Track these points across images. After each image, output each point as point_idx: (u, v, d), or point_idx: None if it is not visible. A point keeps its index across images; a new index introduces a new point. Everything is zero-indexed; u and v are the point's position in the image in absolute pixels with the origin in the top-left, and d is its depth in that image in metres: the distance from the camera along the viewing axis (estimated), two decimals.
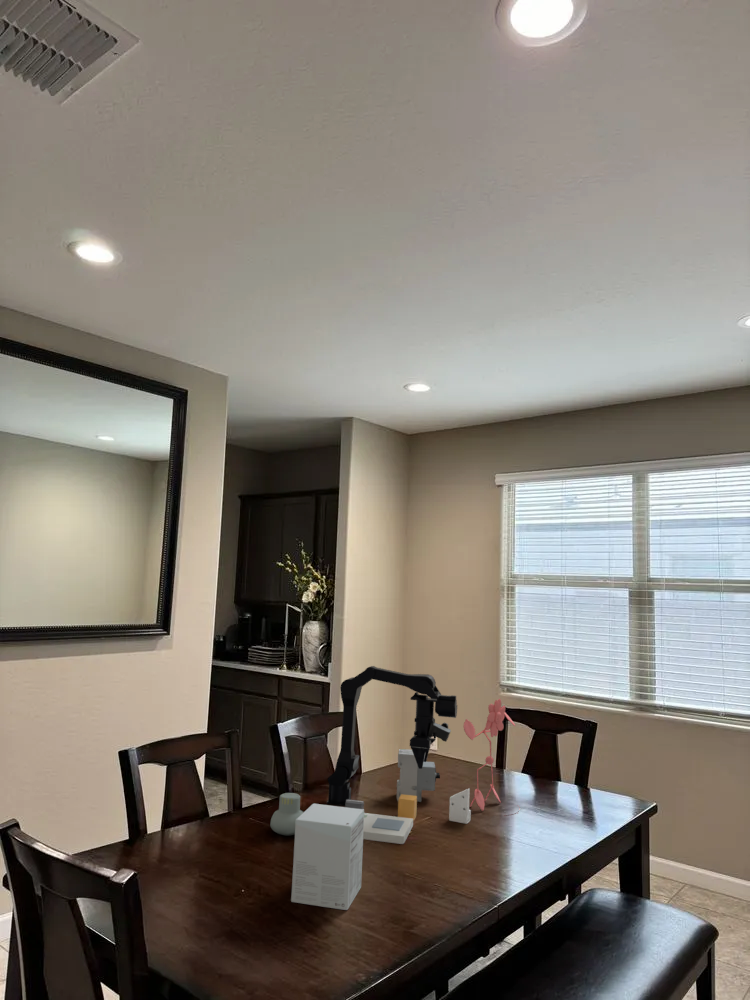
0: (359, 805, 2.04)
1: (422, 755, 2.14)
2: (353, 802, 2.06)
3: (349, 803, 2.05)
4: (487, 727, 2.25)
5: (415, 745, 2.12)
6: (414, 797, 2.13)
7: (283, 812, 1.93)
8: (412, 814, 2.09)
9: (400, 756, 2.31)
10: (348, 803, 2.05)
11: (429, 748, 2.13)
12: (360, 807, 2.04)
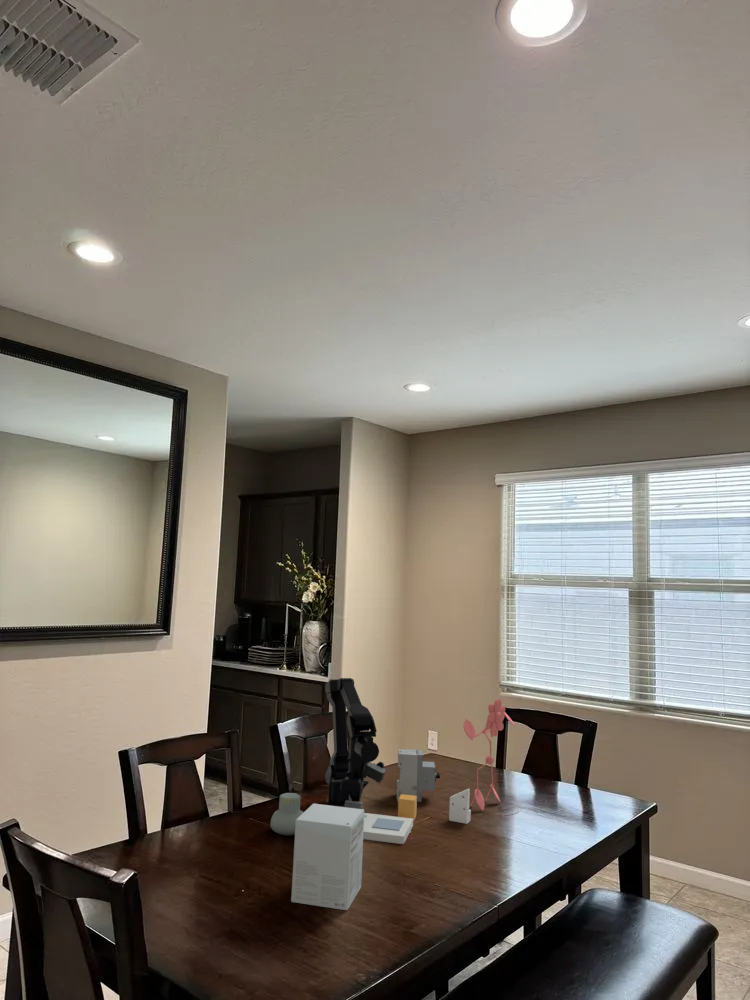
0: (358, 806, 2.04)
1: (357, 794, 2.07)
2: (352, 803, 2.05)
3: (348, 804, 2.04)
4: (487, 727, 2.25)
5: (346, 788, 2.00)
6: (414, 797, 2.13)
7: (283, 812, 1.93)
8: (412, 814, 2.09)
9: (400, 756, 2.31)
10: (347, 804, 2.04)
11: (364, 787, 2.05)
12: (359, 808, 2.03)
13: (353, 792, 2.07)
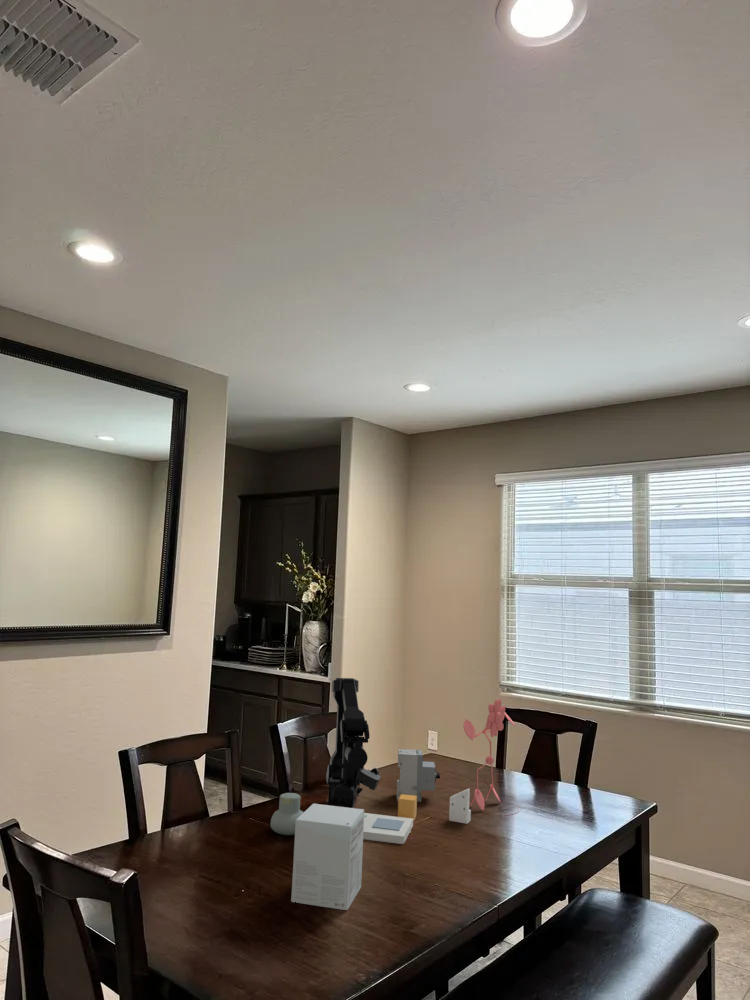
0: None
1: (351, 801, 1.99)
2: None
3: None
4: (487, 727, 2.25)
5: (338, 795, 1.93)
6: (414, 797, 2.13)
7: (283, 811, 1.93)
8: (412, 814, 2.09)
9: (400, 756, 2.31)
10: None
11: (358, 794, 1.98)
12: None
13: (346, 800, 2.00)
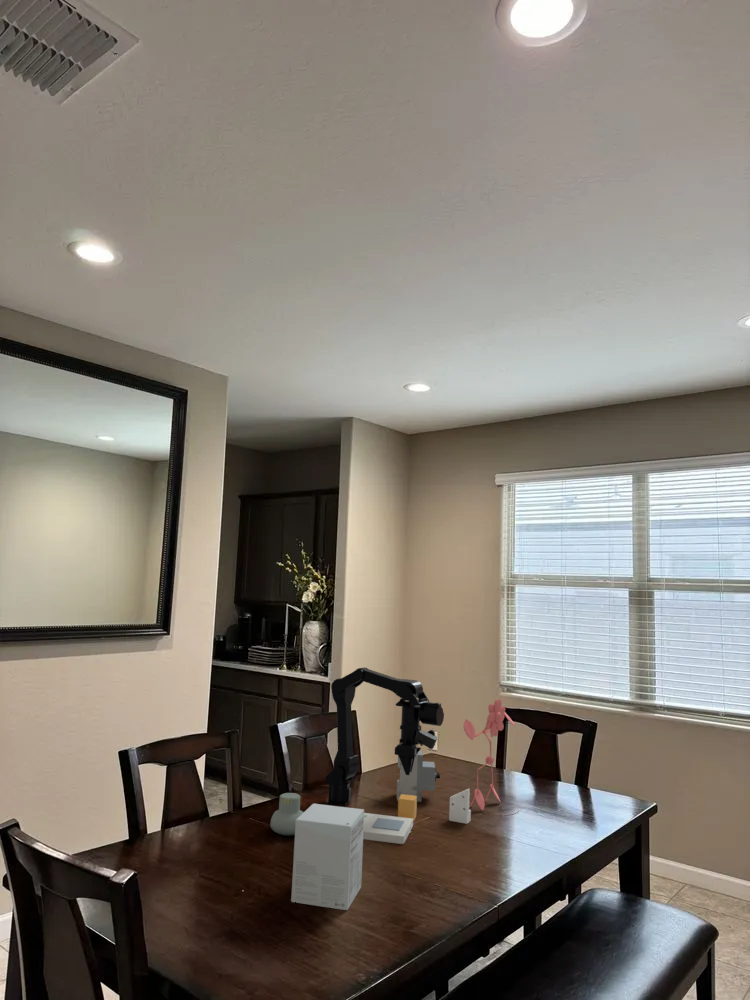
0: None
1: (409, 761, 2.11)
2: None
3: None
4: (487, 727, 2.25)
5: (400, 753, 2.06)
6: (414, 797, 2.13)
7: (283, 811, 1.93)
8: (412, 814, 2.09)
9: None
10: None
11: (416, 754, 2.09)
12: None
13: (405, 760, 2.12)
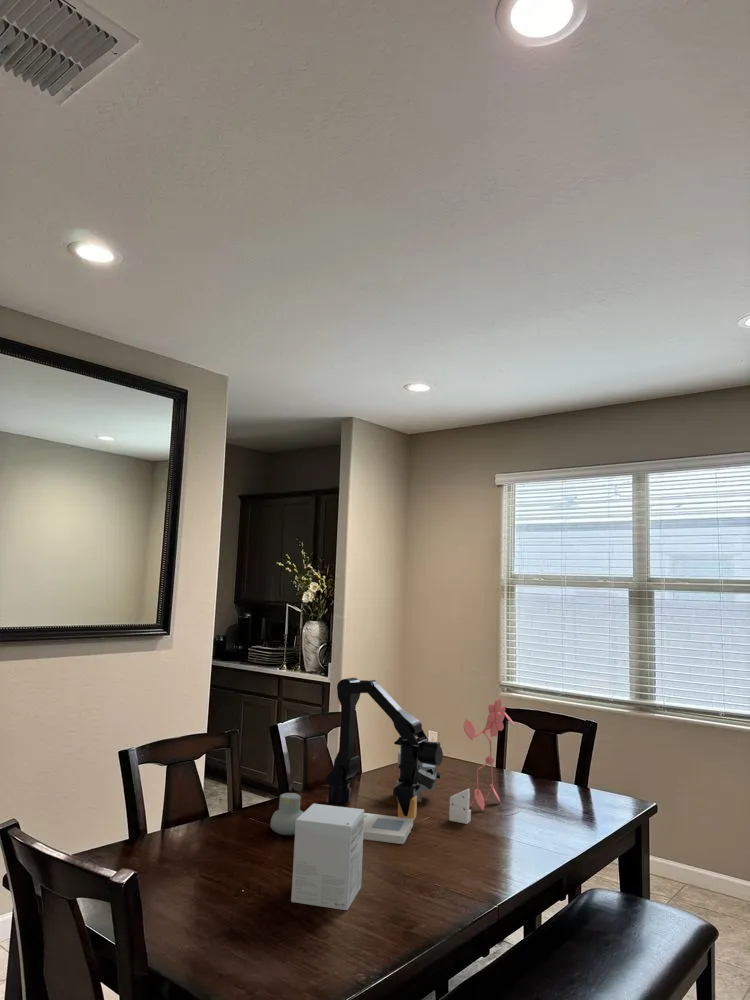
0: None
1: (407, 802, 2.09)
2: None
3: None
4: (487, 727, 2.25)
5: (399, 794, 2.05)
6: (414, 797, 2.13)
7: (283, 811, 1.93)
8: (412, 814, 2.09)
9: None
10: None
11: (414, 795, 2.07)
12: None
13: (403, 800, 2.09)
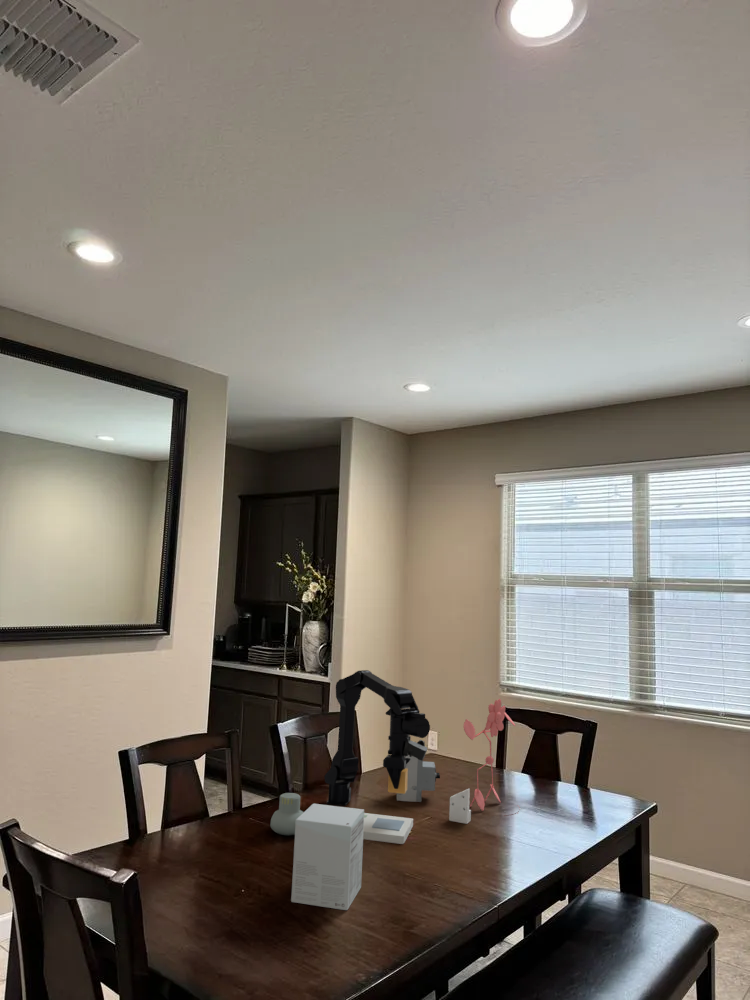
0: None
1: (398, 774, 2.01)
2: None
3: None
4: (487, 727, 2.25)
5: (389, 765, 1.97)
6: (405, 769, 2.05)
7: (283, 811, 1.93)
8: (403, 786, 2.02)
9: None
10: None
11: (405, 767, 2.00)
12: None
13: (393, 773, 2.02)
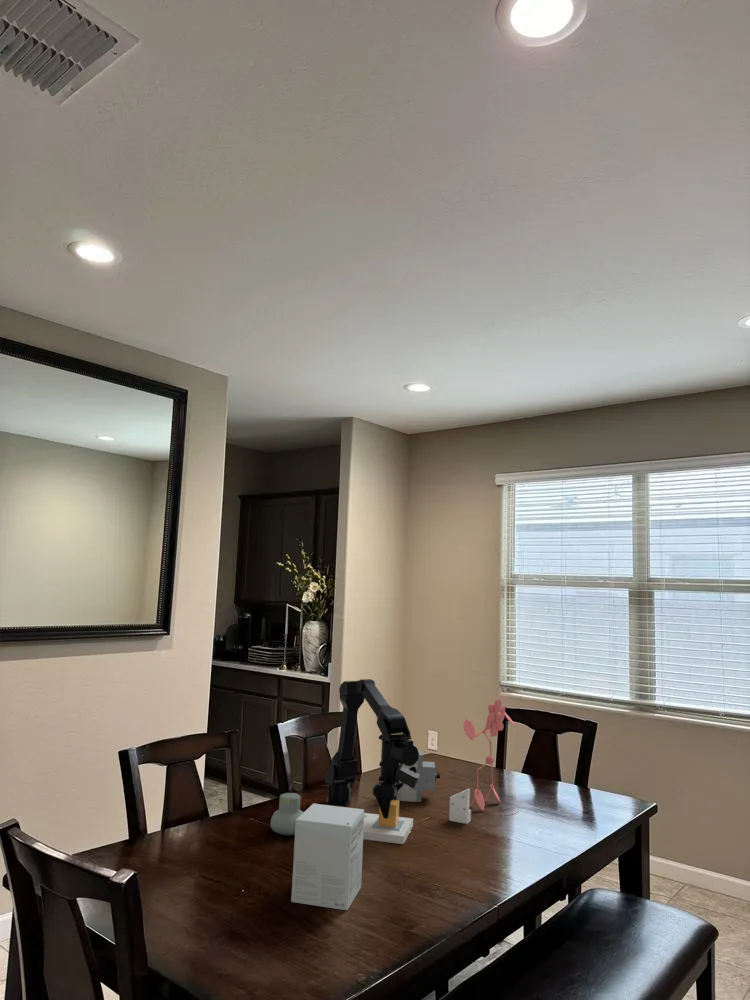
0: None
1: (387, 804, 1.94)
2: None
3: None
4: (487, 727, 2.25)
5: (379, 794, 1.91)
6: (396, 802, 2.00)
7: (283, 811, 1.93)
8: (394, 820, 1.96)
9: None
10: None
11: (395, 796, 1.92)
12: None
13: (383, 802, 1.94)
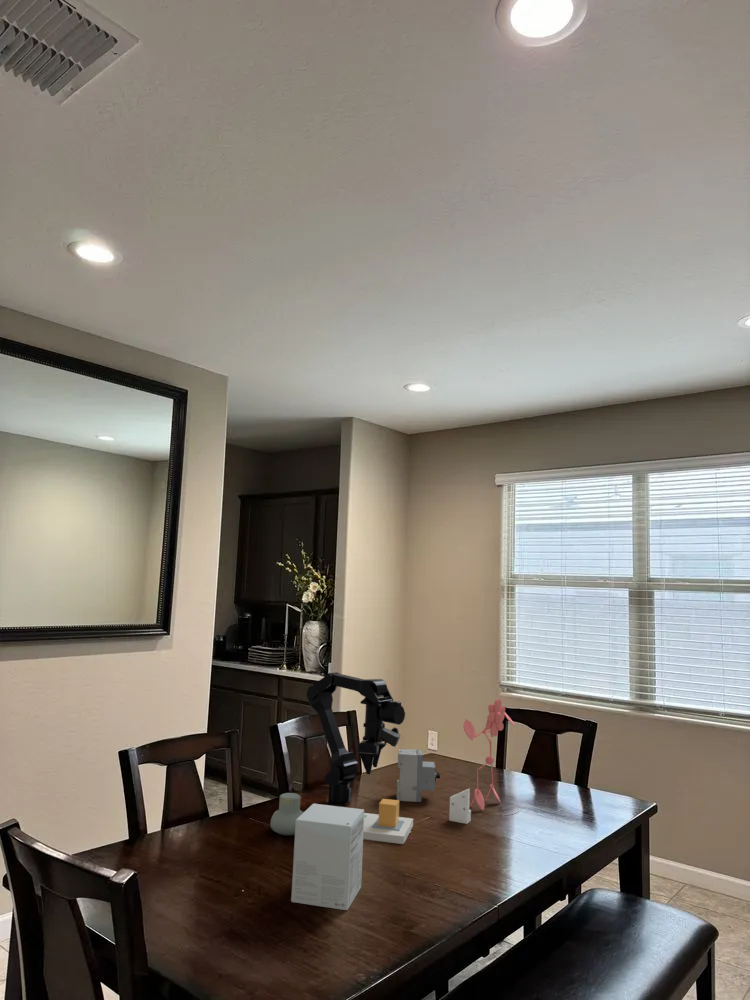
0: None
1: (370, 760, 2.12)
2: None
3: None
4: (487, 727, 2.25)
5: (362, 750, 2.10)
6: (396, 802, 2.00)
7: (283, 812, 1.93)
8: (394, 820, 1.96)
9: (400, 756, 2.31)
10: None
11: (376, 753, 2.10)
12: None
13: (366, 759, 2.13)
